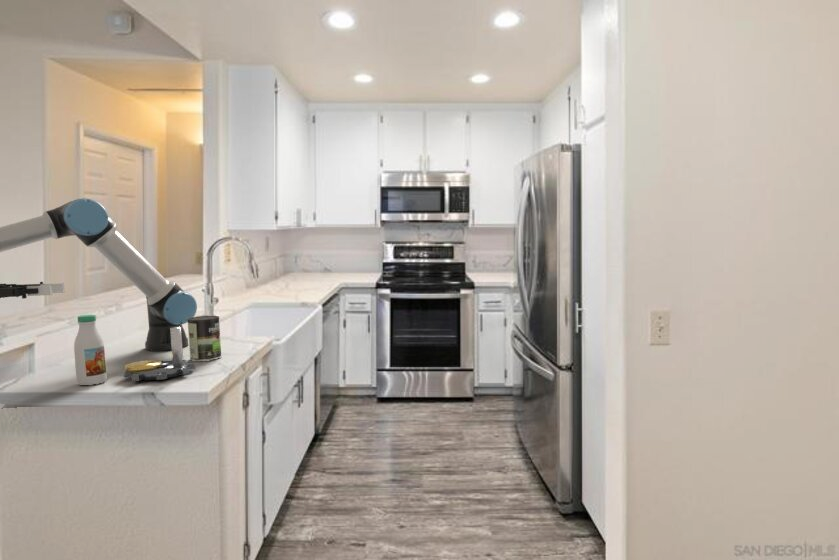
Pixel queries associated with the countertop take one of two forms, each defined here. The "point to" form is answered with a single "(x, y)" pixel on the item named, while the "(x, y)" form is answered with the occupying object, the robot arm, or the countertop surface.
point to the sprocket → (161, 363)
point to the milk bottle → (89, 353)
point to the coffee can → (204, 338)
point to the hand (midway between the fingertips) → (57, 289)
